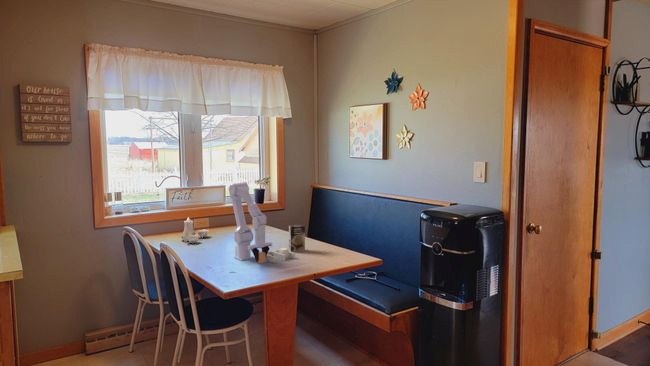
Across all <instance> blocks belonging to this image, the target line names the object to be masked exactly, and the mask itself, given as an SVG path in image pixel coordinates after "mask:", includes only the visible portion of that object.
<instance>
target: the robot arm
mask: <svg viewBox="0 0 650 366" xmlns="http://www.w3.org/2000/svg"><path fill="white" fill-rule="evenodd" d="M249 191H250V187H249V185H248V183H247V182H236V183H234V182H233V183H230V184H229V187H228V192H229V197H230V199H231V204H232V208H233V212H234V218H235V223H236V229H235V230H234V232H233V234H234V236H233V237H234V238H233V239H234V242H235V243H236V244H235V249H234V250H235V252H234V253H235V254H234V259H237V260H239V261H245V260H248V259H253V258H254V260H255V263H257V262H258V261H259V252H260V250H259V249H261V251H262V252H265V256H267V253H268V251H270V247H273V242H271V241H270V242H266V224H267V223H268V217H267V216H266V214H264V213H262V211H261V209H260V207H259V205H258V204H256V203H254V200H253V198H252V196H251V194H250V192H249ZM242 199H243V200H244V202H245V204H246V206H247V211H248V213H249V214H250V216H251V217H252V220H251V223H252V225H253V229H254V233H253V232H252V229H251V228H250V227H249V226H248V225H247V222H246V217H245V216H246V215H245V212H244V208H243V202H242ZM253 240H254V243H253V244H252V242H253ZM251 252H252V254H253V256H254V257H252V256H251V255H252V254H251Z"/></svg>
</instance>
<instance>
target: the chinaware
mask: <svg viewBox="0 0 650 366" xmlns="http://www.w3.org/2000/svg"><path fill="white" fill-rule="evenodd" d="M183 223H184V229H183V232H182V233H181V236H180V237H181V239H182V241H183V240H184V241H183V242H185V241H186V243H187V244H190V243H195V244H196V243H197V242H198V240H199V237H200V238H201V237H205V238H207V236H208V234H209V232H210V229H198V230H196V231H195V229H194V220H192V219H190V217H187V219H186V220H184V221H183ZM187 241H189V242H187Z"/></svg>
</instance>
